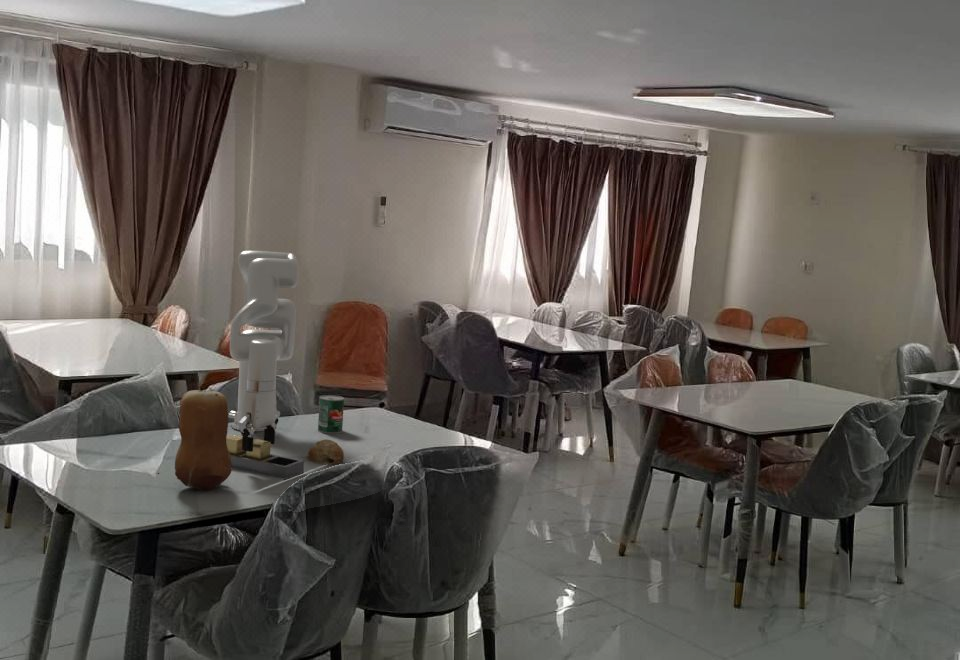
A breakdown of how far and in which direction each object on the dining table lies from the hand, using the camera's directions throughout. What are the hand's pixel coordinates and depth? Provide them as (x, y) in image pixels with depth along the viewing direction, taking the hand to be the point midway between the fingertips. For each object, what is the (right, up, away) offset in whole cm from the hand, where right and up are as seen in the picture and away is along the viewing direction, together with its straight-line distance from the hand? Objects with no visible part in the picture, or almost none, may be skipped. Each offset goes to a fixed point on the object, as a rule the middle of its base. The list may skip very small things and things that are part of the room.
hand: (258, 447), depth 267 cm
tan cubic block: (0, -6, 0) cm, 6 cm away
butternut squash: (-9, -8, -21) cm, 24 cm away
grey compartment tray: (0, -6, 0) cm, 6 cm away
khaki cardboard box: (-7, -5, +3) cm, 9 cm away
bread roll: (+16, -6, +14) cm, 22 cm away
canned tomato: (+12, -1, +50) cm, 52 cm away
